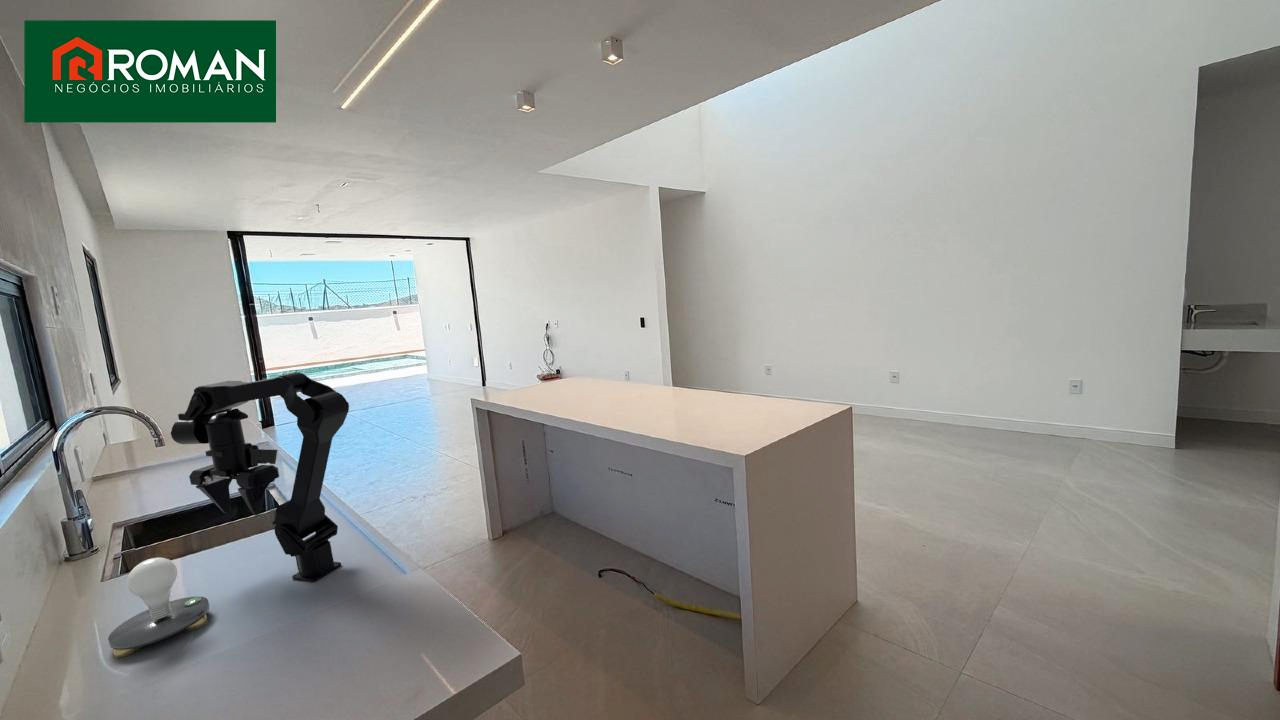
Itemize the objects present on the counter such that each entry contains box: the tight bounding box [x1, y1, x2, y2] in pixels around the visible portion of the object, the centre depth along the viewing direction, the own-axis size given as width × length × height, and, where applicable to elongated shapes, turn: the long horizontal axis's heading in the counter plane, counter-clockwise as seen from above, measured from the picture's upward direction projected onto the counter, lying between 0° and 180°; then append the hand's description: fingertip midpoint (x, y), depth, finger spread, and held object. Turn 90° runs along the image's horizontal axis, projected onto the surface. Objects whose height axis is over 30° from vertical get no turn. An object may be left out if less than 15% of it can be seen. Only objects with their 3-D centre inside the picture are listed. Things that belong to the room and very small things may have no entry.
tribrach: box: [107, 596, 210, 659], centre depth 90 cm, size 13×13×3 cm
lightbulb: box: [126, 557, 178, 620], centre depth 89 cm, size 6×6×11 cm
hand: (242, 513), depth 108 cm, fingers open, 9 cm apart
